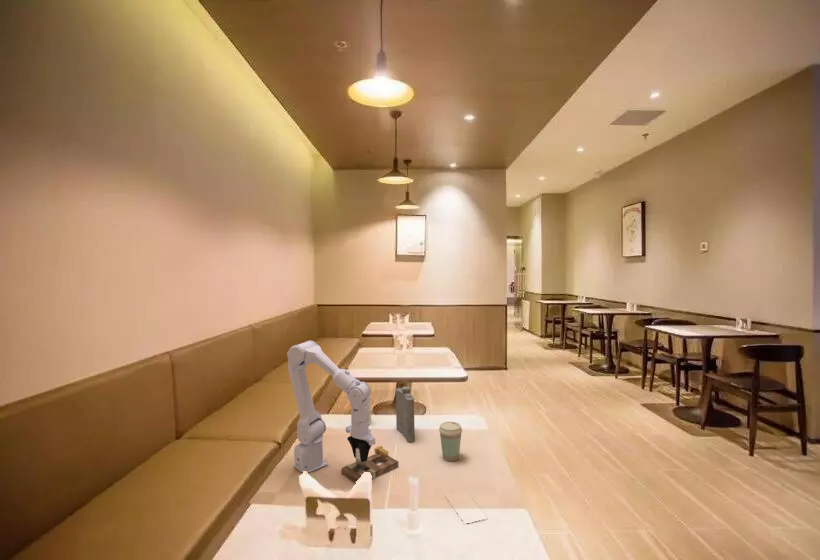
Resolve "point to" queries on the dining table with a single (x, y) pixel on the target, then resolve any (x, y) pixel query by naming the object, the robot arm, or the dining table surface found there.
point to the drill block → (371, 467)
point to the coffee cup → (450, 440)
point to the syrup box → (369, 409)
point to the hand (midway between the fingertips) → (360, 458)
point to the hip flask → (405, 413)
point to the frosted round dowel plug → (359, 461)
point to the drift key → (381, 451)
